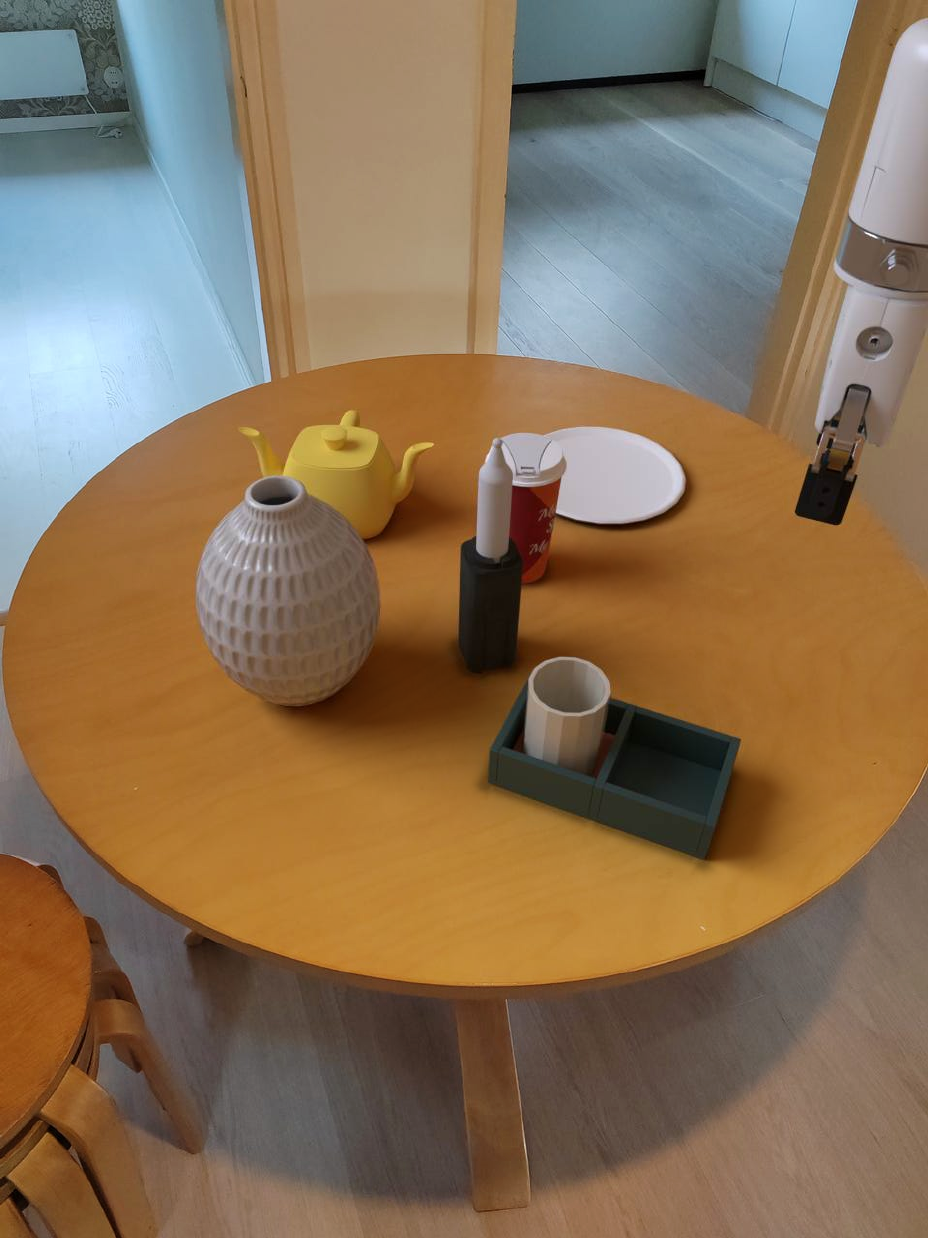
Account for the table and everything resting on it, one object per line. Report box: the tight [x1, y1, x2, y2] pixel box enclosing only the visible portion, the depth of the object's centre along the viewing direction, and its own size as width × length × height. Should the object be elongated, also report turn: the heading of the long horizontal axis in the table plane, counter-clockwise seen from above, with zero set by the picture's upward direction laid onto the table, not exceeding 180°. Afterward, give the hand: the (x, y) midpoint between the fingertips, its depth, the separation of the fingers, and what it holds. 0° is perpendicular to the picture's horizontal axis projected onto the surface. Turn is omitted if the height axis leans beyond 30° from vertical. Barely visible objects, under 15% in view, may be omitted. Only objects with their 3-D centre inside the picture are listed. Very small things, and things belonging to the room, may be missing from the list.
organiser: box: [487, 671, 742, 861], centre depth 86 cm, size 19×10×5 cm, turn 67°
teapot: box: [237, 409, 435, 540], centre depth 113 cm, size 22×16×11 cm
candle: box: [457, 437, 523, 674], centre depth 90 cm, size 5×5×25 cm
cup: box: [522, 656, 612, 776], centre depth 85 cm, size 7×7×9 cm
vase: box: [194, 476, 382, 707], centre depth 88 cm, size 16×16×22 cm
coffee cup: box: [484, 432, 567, 585], centre depth 104 cm, size 8×8×15 cm
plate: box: [542, 426, 687, 526], centre depth 121 cm, size 21×21×1 cm
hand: (827, 482), depth 72 cm, fingers open, 9 cm apart
